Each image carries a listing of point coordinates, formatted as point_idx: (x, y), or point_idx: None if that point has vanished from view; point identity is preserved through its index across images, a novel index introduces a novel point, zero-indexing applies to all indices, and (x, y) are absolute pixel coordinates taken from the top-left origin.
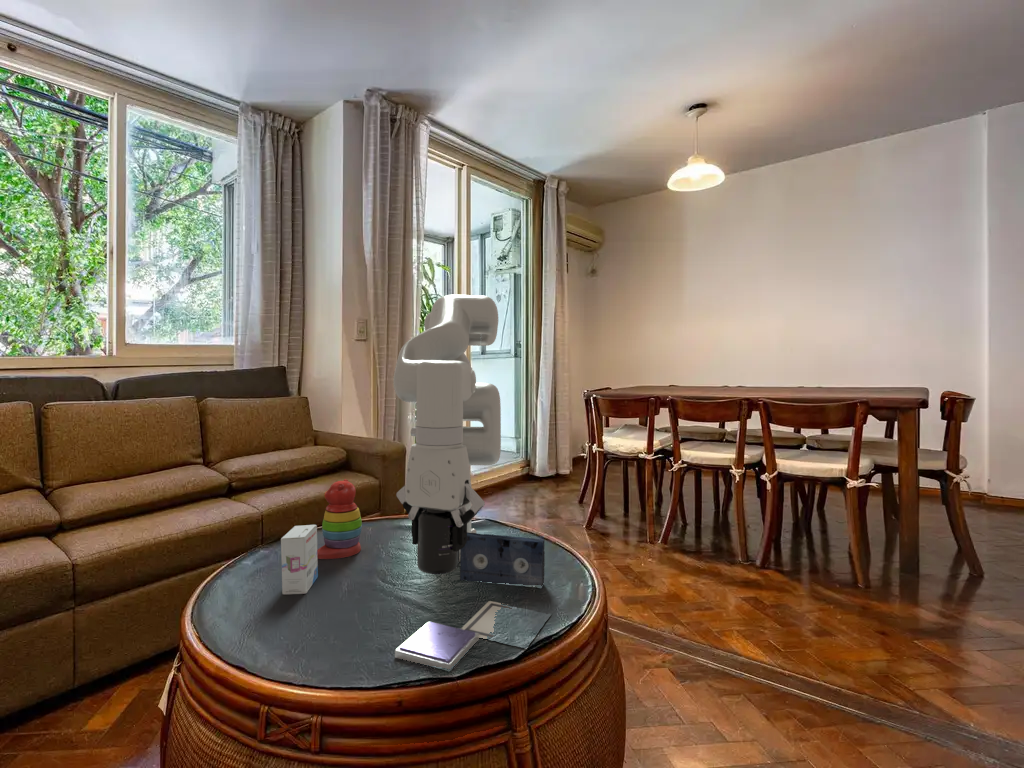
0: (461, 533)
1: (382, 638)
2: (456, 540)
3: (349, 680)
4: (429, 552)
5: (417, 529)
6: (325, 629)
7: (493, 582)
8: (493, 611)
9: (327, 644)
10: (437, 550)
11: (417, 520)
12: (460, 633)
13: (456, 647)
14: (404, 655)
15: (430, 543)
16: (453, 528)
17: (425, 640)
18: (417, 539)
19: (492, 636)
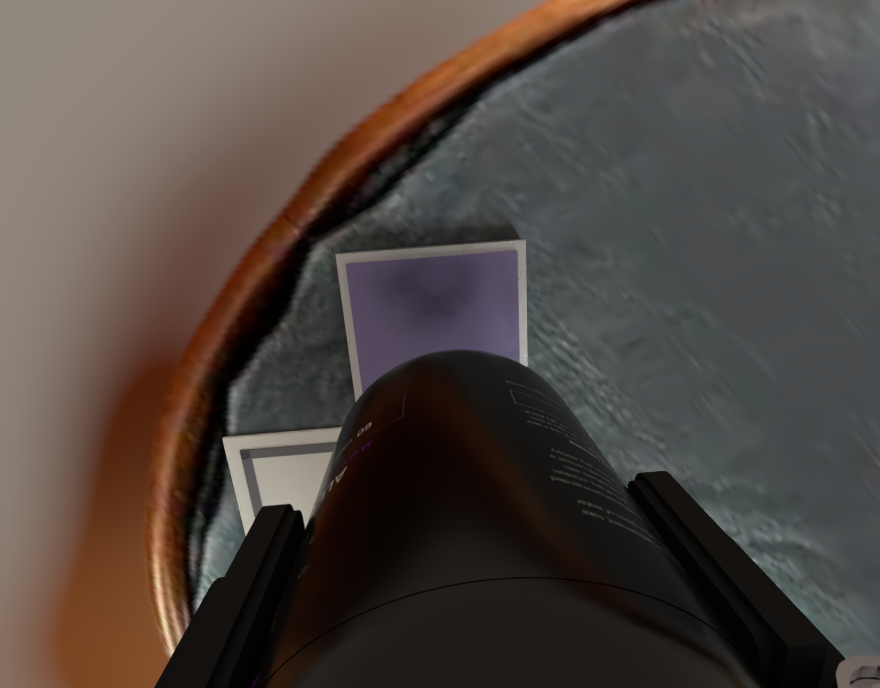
0: (174, 667)
1: (613, 300)
2: (232, 577)
3: (568, 80)
4: (441, 400)
5: (697, 579)
6: (802, 257)
7: None
8: None
9: (746, 196)
10: (378, 433)
11: (775, 682)
12: None
13: (366, 330)
14: (489, 241)
15: (438, 442)
16: (201, 683)
17: (469, 318)
18: (645, 511)
19: (334, 444)
